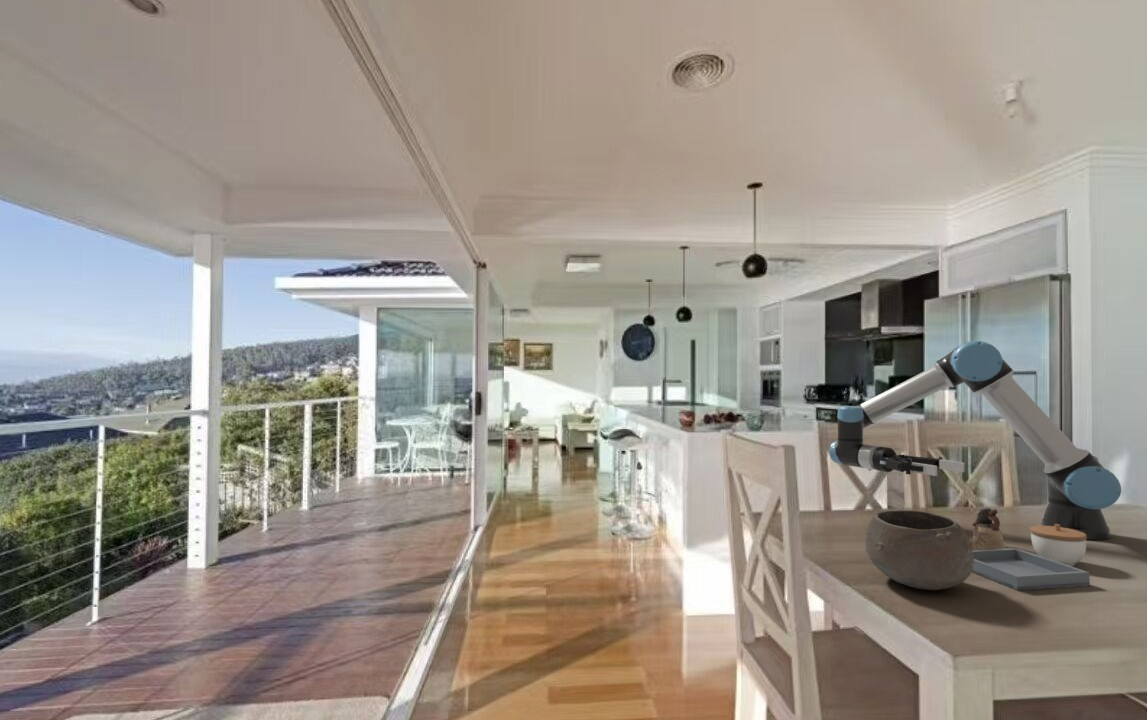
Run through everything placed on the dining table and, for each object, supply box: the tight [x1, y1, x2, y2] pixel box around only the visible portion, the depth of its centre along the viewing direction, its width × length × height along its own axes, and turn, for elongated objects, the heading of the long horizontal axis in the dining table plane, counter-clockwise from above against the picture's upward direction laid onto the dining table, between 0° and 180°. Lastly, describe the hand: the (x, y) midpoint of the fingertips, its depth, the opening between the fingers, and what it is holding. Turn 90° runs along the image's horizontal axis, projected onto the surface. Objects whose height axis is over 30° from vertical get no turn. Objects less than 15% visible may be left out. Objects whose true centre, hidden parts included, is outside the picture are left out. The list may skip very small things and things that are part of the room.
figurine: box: [970, 507, 1006, 550], centre depth 147 cm, size 7×7×12 cm
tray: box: [971, 547, 1091, 592], centre depth 132 cm, size 18×18×3 cm
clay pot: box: [864, 510, 974, 591], centre depth 126 cm, size 21×21×15 cm
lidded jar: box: [1029, 524, 1088, 567], centre depth 140 cm, size 11×11×9 cm
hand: (950, 469), depth 156 cm, fingers open, 13 cm apart
